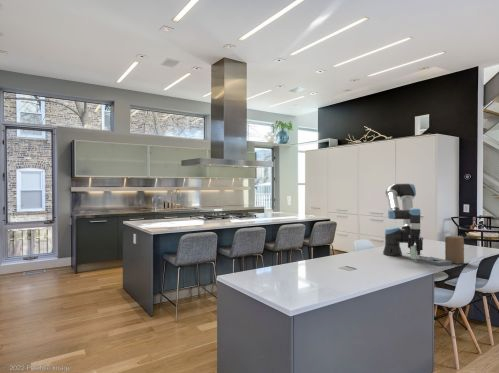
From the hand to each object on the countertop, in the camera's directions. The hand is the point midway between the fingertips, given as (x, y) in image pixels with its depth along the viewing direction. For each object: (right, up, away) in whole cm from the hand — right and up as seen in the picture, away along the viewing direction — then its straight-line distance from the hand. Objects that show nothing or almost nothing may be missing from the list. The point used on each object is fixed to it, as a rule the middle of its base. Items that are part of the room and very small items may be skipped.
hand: (415, 258), depth 266 cm
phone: (+10, -3, +10) cm, 14 cm away
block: (+29, -3, -4) cm, 29 cm away
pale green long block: (0, 0, 0) cm, 0 cm away
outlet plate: (+13, -3, -4) cm, 14 cm away
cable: (+17, -3, +14) cm, 22 cm away
